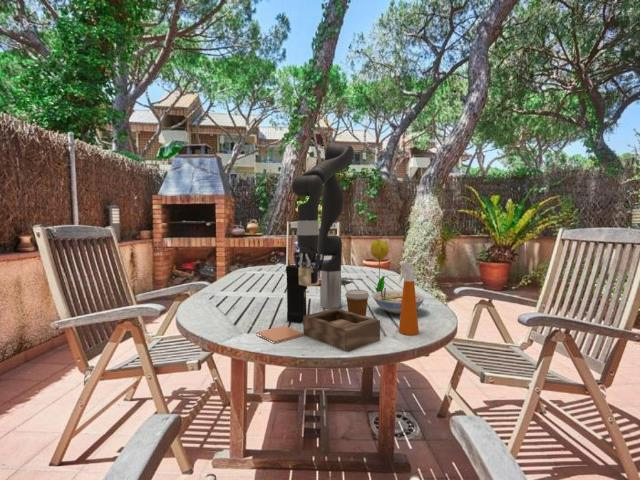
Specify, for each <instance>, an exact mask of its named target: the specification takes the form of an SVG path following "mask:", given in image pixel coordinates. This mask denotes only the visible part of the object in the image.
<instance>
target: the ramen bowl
mask: <svg viewBox="0 0 640 480" xmlns="http://www.w3.org/2000/svg"><path fill="white" fill-rule="evenodd" d="M402 295H403V290H400V289H399V290H387V288H386V287H384V288H383V291H382V288H381V291H380V292H377V291H376V292H374V293H372V298H373V300H374V302H375V303H376V304H377V305H378V306H379V307H380V308H381V309H382V310H385V311H386V312H389V313H390V314H394V315H400V314H401V305H402ZM415 296H416V307H417V309H418V308H420V307H421V305H422V303H424V301H425V299H426V296H425V295H424V294H422V293H419V292H416V291H415Z"/></svg>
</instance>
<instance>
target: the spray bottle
mask: <svg viewBox="0 0 640 480" xmlns="http://www.w3.org/2000/svg"><path fill="white" fill-rule="evenodd" d="M399 266H400V274H399V277H398V281H397V282H396V284H397V285H399V284H401V282H402V280H403V285H402V289H403V290H402V291H403V295H402V305H401V314H399V325H398V326H399V327H398V333H400V334H401V333H402V335H406V336H415V335H418V334H419V333H420V331H419V320H418V310H417V309H418V308H417V307H416V296H415V292H416V290H415V289H416V285H415V275H414V272H415V270H416V267H415V266H414V265H413V264H411V263H410V262H407V261H402V260H401V261H399Z"/></svg>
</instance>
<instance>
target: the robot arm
mask: <svg viewBox="0 0 640 480" xmlns="http://www.w3.org/2000/svg"><path fill="white" fill-rule="evenodd" d="M324 152H325V153H324V160H322V161H319V162H318V163H316V164H315V165H314V166H313V167H312V168H311V169H309V170H307V171H304V172H303V173H301V174H298V175H297V176H296V177H295V178H294V179H293V181H292V185H291V189H292V192H293V193H294V195H296V196H298V197H308V199H307V201H306V202H303V203H299V204H298V206H297V227H296V235H297V238H296V240H297V241H296V242H297V243H296V244H297V245H296V246H297V247H298V248H299V250H298V251H294V252H293V256H294V257H293V258H294V263H295V264H294V265H296V268H297V269H299V268H300V267H307V266H309V267H310V269H311V283H312V284H314V283H317V281H318V279H317V277H318V275H317V273H318V272H319V273H320V272H321V279H320V280H321V285H320V286H319V289H320V290H319V294H320V295H319V299H320V302H319V303H320V304H319V305H320V306H321V308H323V309H327V310H330V309H334V308H337V309H341V307H342V254H343V253H342V252H343V241H342V238H341V236H339V235H329V232H330V230H331V228H332V226H333V225H334V224H335V223H336V221H337V220H338V219H339V217H341V215H342V213H343V208H344V203H345V202H344V201H345V196H344V191H343V190H342V188H341V185H340V184H339V181H338V179H337V175H336V174H337V173H339V172H342V171H344V170H345V169H346V168H348V167H350V165H351V164H352V163H353V160H354V156H355V153H354V152H355V151H354V148H353V146H352V145H349V144H347V143H341V142H340V143H339V142H333V141H331V142H330V141H329V143H328V144H327V145H326V148H325V151H324ZM321 198H322V199H321ZM321 200H322V202H321V203H322V204H321V219H320V225H319V205H320V201H321ZM328 256H330V257H331V259H330V260H327V261H326V262H324V259H325V257H328ZM303 265H304V266H303ZM313 267H314V268H315V269H314V268H313Z"/></svg>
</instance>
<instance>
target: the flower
mask: <svg viewBox="0 0 640 480" xmlns="http://www.w3.org/2000/svg"><path fill="white" fill-rule="evenodd" d="M389 252H390V251H389V246H388V241H387V240H385V241H383V240H380V239H379V240H375V239H374V240H372V241H371V244H370V254H371V256H373V257H374V258H375V259H377V260H378V282H377V287H376V286H375V285H373V287H374V289H375V291H376V292H380V291H381V288H382V291H384V288H385V278H386V275H383V276H382V277H381V275H380V274H381V271H380V270H381V260H384V259H385V258H386V257H387V256H388V254H389Z"/></svg>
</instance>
